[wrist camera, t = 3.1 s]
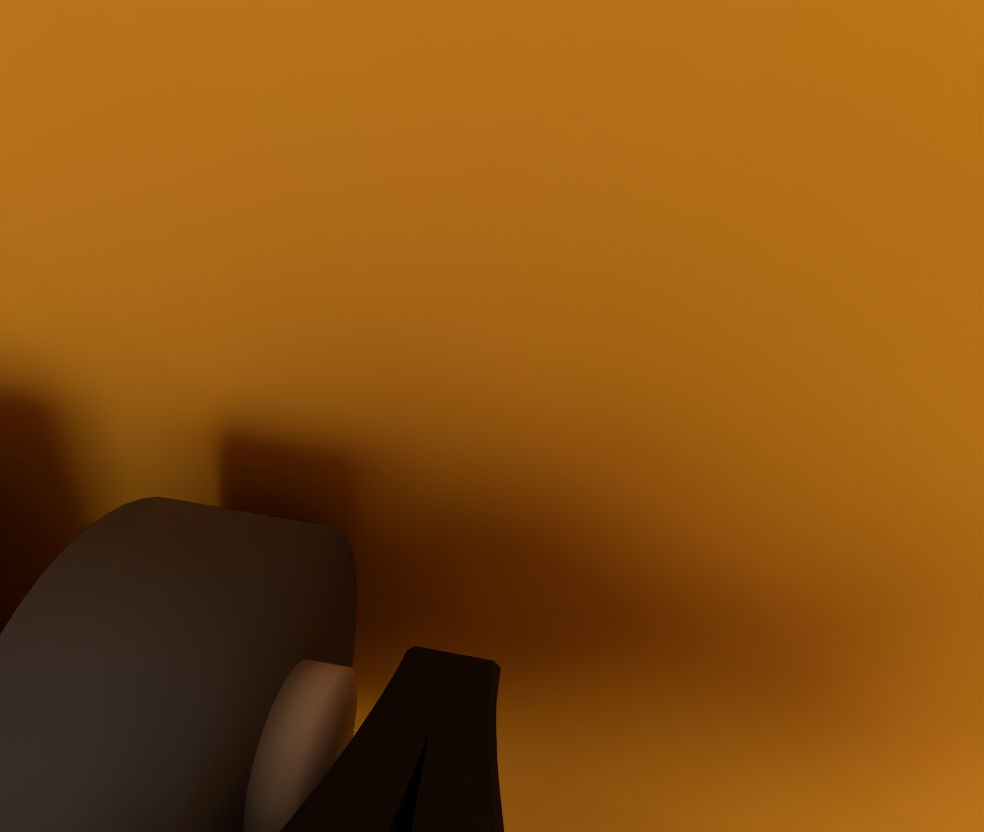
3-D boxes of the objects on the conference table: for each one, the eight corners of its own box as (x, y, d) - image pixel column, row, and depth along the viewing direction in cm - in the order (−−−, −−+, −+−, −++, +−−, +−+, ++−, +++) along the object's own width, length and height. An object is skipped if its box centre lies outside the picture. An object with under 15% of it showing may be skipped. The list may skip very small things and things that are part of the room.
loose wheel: (390, 717, 14) (249, 1150, 9) (235, 687, 14) (14, 1088, 9) (393, 446, 11) (177, 875, 6) (193, 416, 11) (-177, 795, 6)
